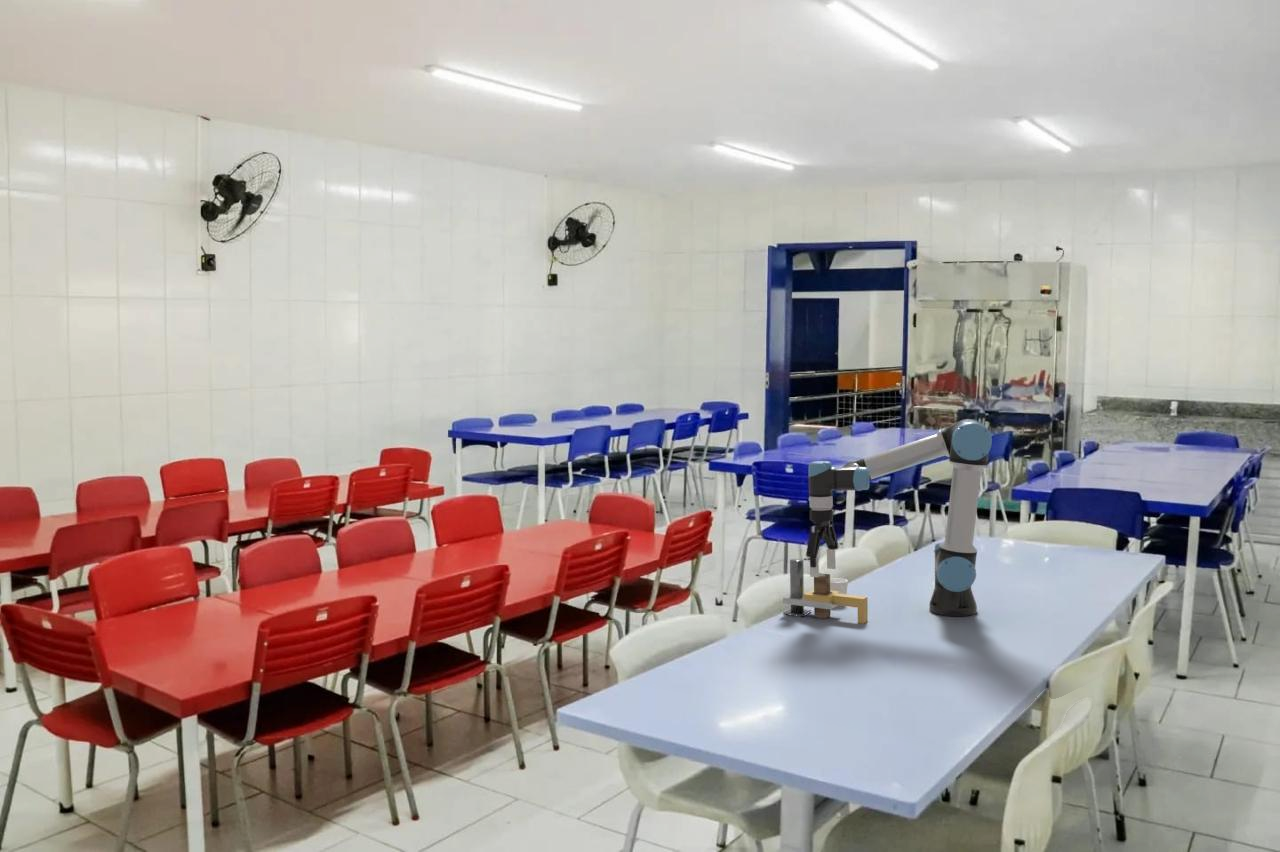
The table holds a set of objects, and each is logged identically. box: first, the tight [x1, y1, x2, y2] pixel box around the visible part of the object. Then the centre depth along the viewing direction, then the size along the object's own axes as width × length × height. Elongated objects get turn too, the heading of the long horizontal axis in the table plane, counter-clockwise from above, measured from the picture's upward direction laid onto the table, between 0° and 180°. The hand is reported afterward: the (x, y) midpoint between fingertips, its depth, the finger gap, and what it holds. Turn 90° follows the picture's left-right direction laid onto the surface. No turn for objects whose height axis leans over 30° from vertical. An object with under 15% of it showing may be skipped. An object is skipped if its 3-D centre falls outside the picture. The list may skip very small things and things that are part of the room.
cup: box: [830, 577, 849, 594], centre depth 365 cm, size 7×10×8 cm
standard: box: [782, 558, 839, 617], centre depth 349 cm, size 18×9×18 cm, turn 57°
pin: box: [813, 572, 831, 619], centre depth 347 cm, size 4×4×14 cm
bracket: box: [804, 588, 869, 625], centre depth 345 cm, size 20×9×8 cm, turn 57°
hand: (823, 572), depth 347 cm, fingers open, 13 cm apart
